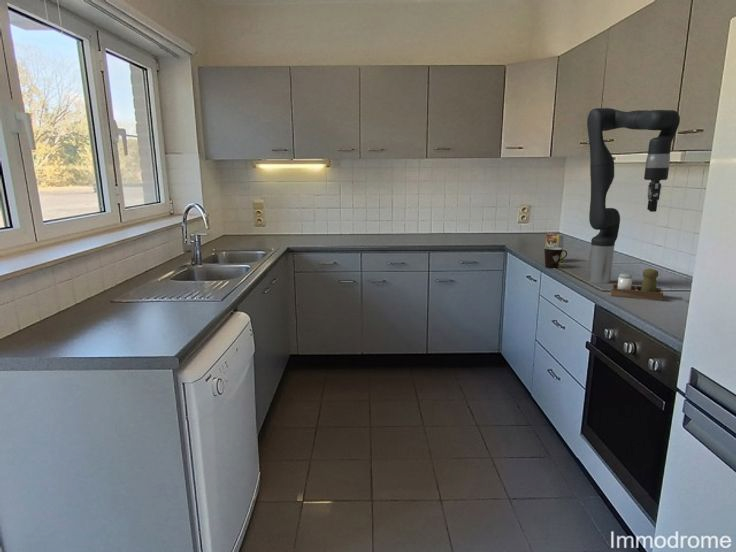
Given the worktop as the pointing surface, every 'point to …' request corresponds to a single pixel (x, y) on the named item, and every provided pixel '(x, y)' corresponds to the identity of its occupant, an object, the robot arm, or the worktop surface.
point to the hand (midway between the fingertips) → (651, 210)
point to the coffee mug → (553, 256)
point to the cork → (649, 280)
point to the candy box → (555, 241)
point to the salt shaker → (625, 281)
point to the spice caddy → (637, 293)
